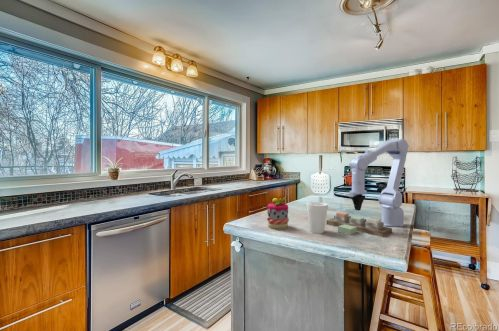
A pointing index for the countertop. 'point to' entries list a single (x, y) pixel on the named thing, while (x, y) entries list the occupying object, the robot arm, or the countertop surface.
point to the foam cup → (317, 216)
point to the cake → (278, 214)
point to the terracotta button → (342, 214)
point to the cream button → (374, 220)
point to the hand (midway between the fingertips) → (357, 210)
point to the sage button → (357, 218)
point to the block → (347, 229)
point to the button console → (361, 225)
